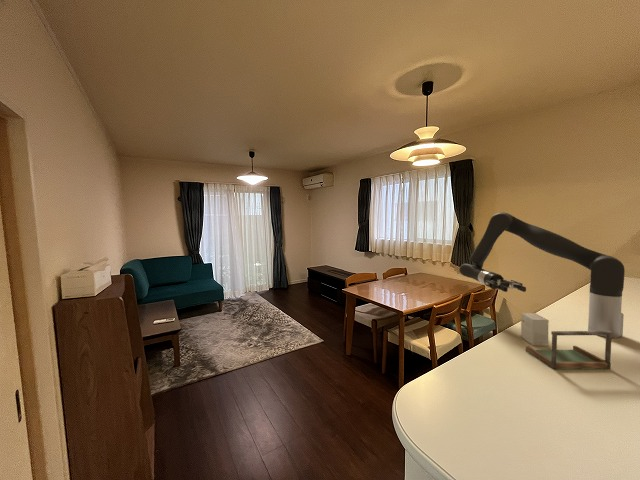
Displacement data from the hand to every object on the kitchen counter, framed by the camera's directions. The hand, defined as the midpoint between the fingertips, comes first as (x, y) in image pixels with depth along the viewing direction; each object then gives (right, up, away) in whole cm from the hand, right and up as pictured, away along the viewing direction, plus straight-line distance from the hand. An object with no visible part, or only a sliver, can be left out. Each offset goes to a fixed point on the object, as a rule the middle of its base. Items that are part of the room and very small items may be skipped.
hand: (516, 289), depth 113 cm
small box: (0, -19, -9) cm, 22 cm away
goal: (-1, -20, -23) cm, 31 cm away
